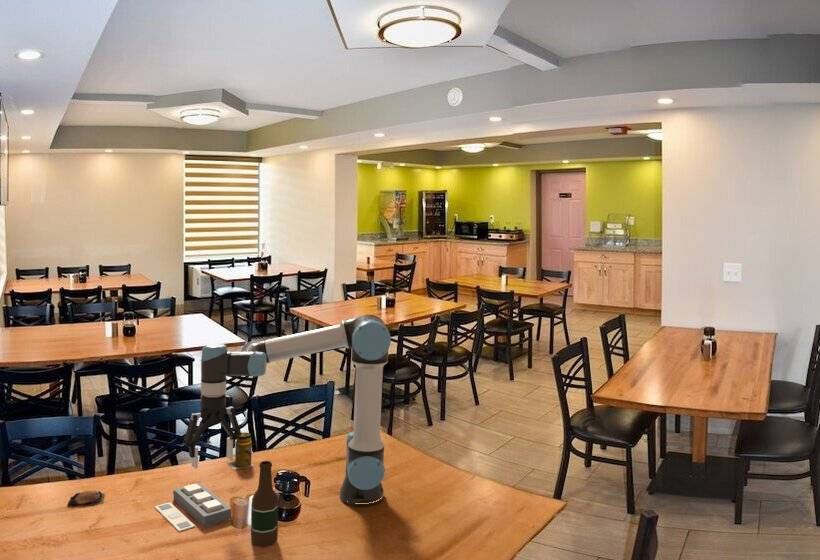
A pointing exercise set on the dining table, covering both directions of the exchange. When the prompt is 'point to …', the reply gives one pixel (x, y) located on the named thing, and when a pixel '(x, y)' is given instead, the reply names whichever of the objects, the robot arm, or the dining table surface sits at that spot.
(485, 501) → the dining table surface
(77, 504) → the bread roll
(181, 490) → the console
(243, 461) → the condiment
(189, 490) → the button
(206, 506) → the button
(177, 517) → the pattern card
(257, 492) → the beer bottle
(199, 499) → the middle button
